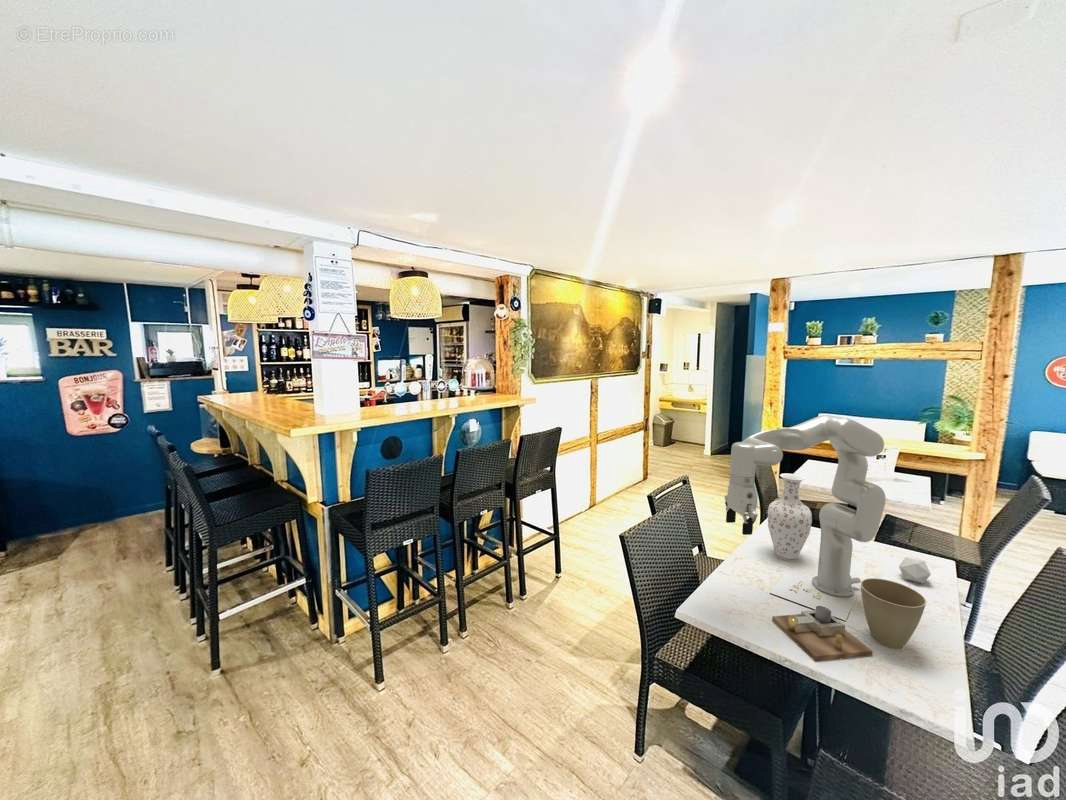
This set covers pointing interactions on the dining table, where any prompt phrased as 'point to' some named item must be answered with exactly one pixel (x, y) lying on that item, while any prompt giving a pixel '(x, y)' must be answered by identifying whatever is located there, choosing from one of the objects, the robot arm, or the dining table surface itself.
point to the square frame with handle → (815, 625)
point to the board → (824, 639)
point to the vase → (789, 520)
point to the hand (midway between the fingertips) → (738, 528)
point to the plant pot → (891, 611)
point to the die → (914, 570)
